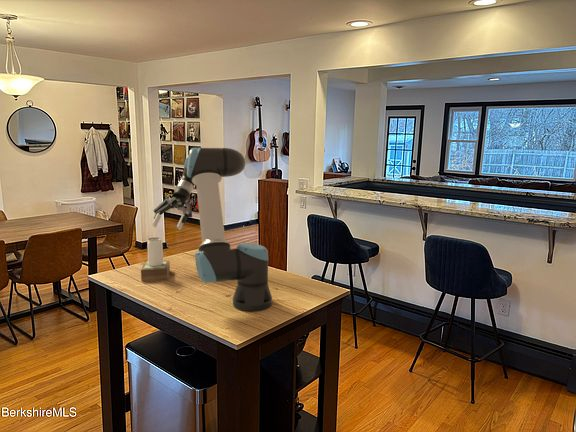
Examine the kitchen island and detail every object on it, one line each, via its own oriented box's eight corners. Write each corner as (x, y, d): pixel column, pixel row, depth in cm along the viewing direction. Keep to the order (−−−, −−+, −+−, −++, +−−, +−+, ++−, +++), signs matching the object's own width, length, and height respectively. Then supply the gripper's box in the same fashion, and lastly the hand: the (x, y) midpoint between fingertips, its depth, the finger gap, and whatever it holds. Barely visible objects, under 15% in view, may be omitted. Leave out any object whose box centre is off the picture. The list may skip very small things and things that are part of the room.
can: (157, 267, 185) (156, 241, 183) (145, 265, 187) (144, 239, 185) (166, 263, 191) (165, 237, 189) (154, 261, 193) (153, 236, 191)
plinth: (167, 279, 185) (166, 268, 184) (141, 280, 182) (140, 269, 182) (169, 270, 197) (169, 259, 196) (145, 271, 195) (145, 260, 194)
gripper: (208, 197, 205) (192, 233, 194) (165, 194, 213) (147, 229, 201) (202, 188, 199) (185, 224, 188) (158, 185, 207) (139, 220, 196)
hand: (166, 227), depth 195 cm, fingers open, 13 cm apart
